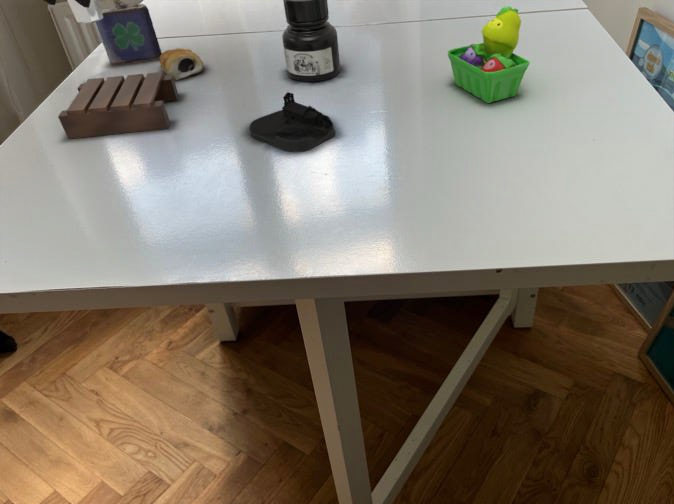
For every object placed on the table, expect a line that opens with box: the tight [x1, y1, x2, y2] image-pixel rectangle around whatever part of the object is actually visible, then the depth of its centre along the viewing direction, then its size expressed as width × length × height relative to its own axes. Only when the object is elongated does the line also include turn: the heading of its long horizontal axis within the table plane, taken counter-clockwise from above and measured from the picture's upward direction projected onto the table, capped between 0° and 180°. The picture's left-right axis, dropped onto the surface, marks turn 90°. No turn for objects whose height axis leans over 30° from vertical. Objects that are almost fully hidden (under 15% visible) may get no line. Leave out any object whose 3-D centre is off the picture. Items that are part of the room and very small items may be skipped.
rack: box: [57, 71, 180, 140], centre depth 82 cm, size 14×12×4 cm
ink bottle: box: [281, 0, 341, 82], centre depth 89 cm, size 10×9×12 cm
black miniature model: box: [248, 91, 336, 153], centre depth 76 cm, size 12×10×5 cm
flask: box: [95, 0, 163, 67], centre depth 99 cm, size 9×3×11 cm, turn 109°
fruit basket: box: [446, 5, 531, 104], centre depth 81 cm, size 11×9×11 cm
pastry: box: [158, 47, 204, 81], centre depth 96 cm, size 9×7×4 cm
